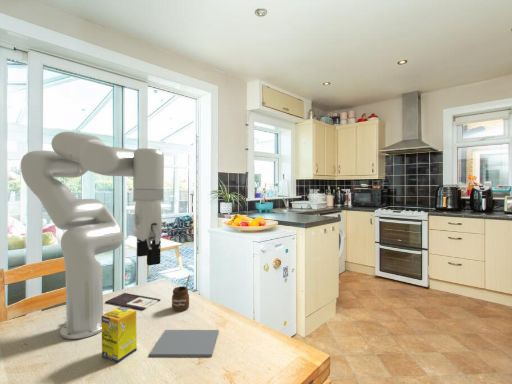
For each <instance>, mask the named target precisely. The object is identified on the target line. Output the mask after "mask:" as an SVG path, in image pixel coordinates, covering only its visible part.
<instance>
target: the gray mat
mask: <svg viewBox="0 0 512 384" xmlns="http://www.w3.org/2000/svg"><path fill="white" fill-rule="evenodd" d="M219 333H220V331H219V329H164V331H163V332H162V335H161V336H160V337H159V338H158V340H157V342H156V344H155V345H154V346H153V348H152V349H151V351H150V352H149V357H171V358H172V357H177V358H178V357H179V358H180V357H184V358H185V357H187V358H189V357H191V358H195V357H199V358H200V357H201V358H202V357H203V358H204V357H210V358H211V357H213V354H214V351H215V346H216V344H217V343H216V342H217V339H218V337H219Z"/></svg>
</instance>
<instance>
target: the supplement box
mask: <svg viewBox="0 0 512 384" xmlns="http://www.w3.org/2000/svg"><path fill="white" fill-rule="evenodd" d="M101 325H102V331H101V357H102V358H105V359H108V360H111V361H113V362H115V363H117V364H118V363H121V362H122V361H123V360H125V359H126V358H127V357H129V356H130V355H132V354H133V353H135V352H136V351H137V350H138V349H137V310H136V309H131V308H128V307H123V306H118V307H116V308H114V309H112V310H110V311H107V312H105V313H103V315H102V316H101Z"/></svg>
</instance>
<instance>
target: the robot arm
mask: <svg viewBox="0 0 512 384" xmlns="http://www.w3.org/2000/svg"><path fill="white" fill-rule="evenodd" d="M50 145H51V148H52V151H51V150H33V151H29V152H27V153H25V154H24V155H23V156H22V158H21V160H20V173H21V175H22V179H23V181H24V183H25V184H26V186H27V187H28V188H29V189H30V191H31V192H32V193H33V194H34V195H35V196H36V197H37V199H39V201H40V203H41V205H42V206H43V208H44V210H45V211H46V213H47V215H48V216H49V218H50V221H52V223H53V225H54V226H55V227H56V228H57V229H60V230H63V231H64V230H65V232H64V233H63V234H61V235H62V236H61V237H60V247H61V252H62V257H63V261H64V269H65V272H64V273H65V274H64V275H65V302H66V304H65V307H66V310H65V311H66V313H65V314H66V316H65V317H66V324H64V325H63V326H62V327H61V329H60V331H59V332H60V333H59V334H60V336H61V337H62V338H63V339H67V340H77V339H78V340H79V339H85V338H88V337H91V336H94V335H97V334H99V333H102V325H101V316H102V315H103V314H104V304H103V303H104V299H103V298H104V295H103V291H104V290H103V268H102V265H101V263H100V262H99V261H98V259H96V257H95V256H96V255H100V254H103V253H104V254H105V253H108V252H111V251H112V252H113V251H115V250H117V249H118V248H119V247H121V246H122V244H123V242H124V234H123V231H122V228H121V226H120V224H119V223H118V221H117V220H116V219H115V217H114V216H113V214H112V213H111V211H110V210H109V208H108V206H107V205H106V204H105V203H104V202H102V201H101V200H99V199H94V198H77V197H76V196H74V194H73V192H72V190H71V189H70V188H69V187H68V186H67V185H66V184H65V183H64V182H61V181H60V180H59V179H56V178H72V179H73V178H79V177H81V176H83V175H85V174H86V173H88V172H91V173H94V174H98V175H101V176H106V177H107V176H108V177H127V178H129V177H130V178H131V177H132V179H133V181H132V184H133V185H132V186H133V187H132V188H133V189H132V193H133V194H132V202H134V203H135V205H134V213H133V236H134V237H135V238H136V241H137V242H136V256H137V257H138V258H139V257H145V256H146V265H147V266H155V265H160V264H161V248H162V245H161V238H162V230H163V228H162V227H163V223H162V221H163V220H162V217H163V216H162V205H161V202H164V199H165V197H164V195H165V194H164V192H165V191H164V186H165V185H164V183H165V182H164V180H165V179H164V175H165V169H164V168H165V165H164V164H165V163H164V162H165V156H164V152H163V151H162V150H160V149H157V148H146V147H145V148H143V147H142V148H137V149H131V148H130V149H129V148H123V147H116V146H115V147H114V146H109V145H106V144H105V142H104V141H103V140H102V139H101V138H99V137H98V136H95V135H92V134H87V133H79V132H73V131H62V132H59V133H57V134H56V135H54V137H52V139H51V143H50Z"/></svg>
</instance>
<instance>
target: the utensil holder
mask: <svg viewBox="0 0 512 384" xmlns="http://www.w3.org/2000/svg"><path fill="white" fill-rule="evenodd" d="M190 277H191V274H189V275H188V277H187V280H186V283H185V284H186V286H179V283H176V282H179V279H177V276H176V277H173V278H172V279H171V281H172V284H173V282H174V280H175V279H176V282H174V285H172V286H173V290H172V296H171V308H172V310H173V311H174V312H178V313H180V312H185V311H188V309H189V307H190V293H189V288H188V285H189V281H190ZM175 283H176V284H175ZM175 285H177V287H176V286H175Z"/></svg>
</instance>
